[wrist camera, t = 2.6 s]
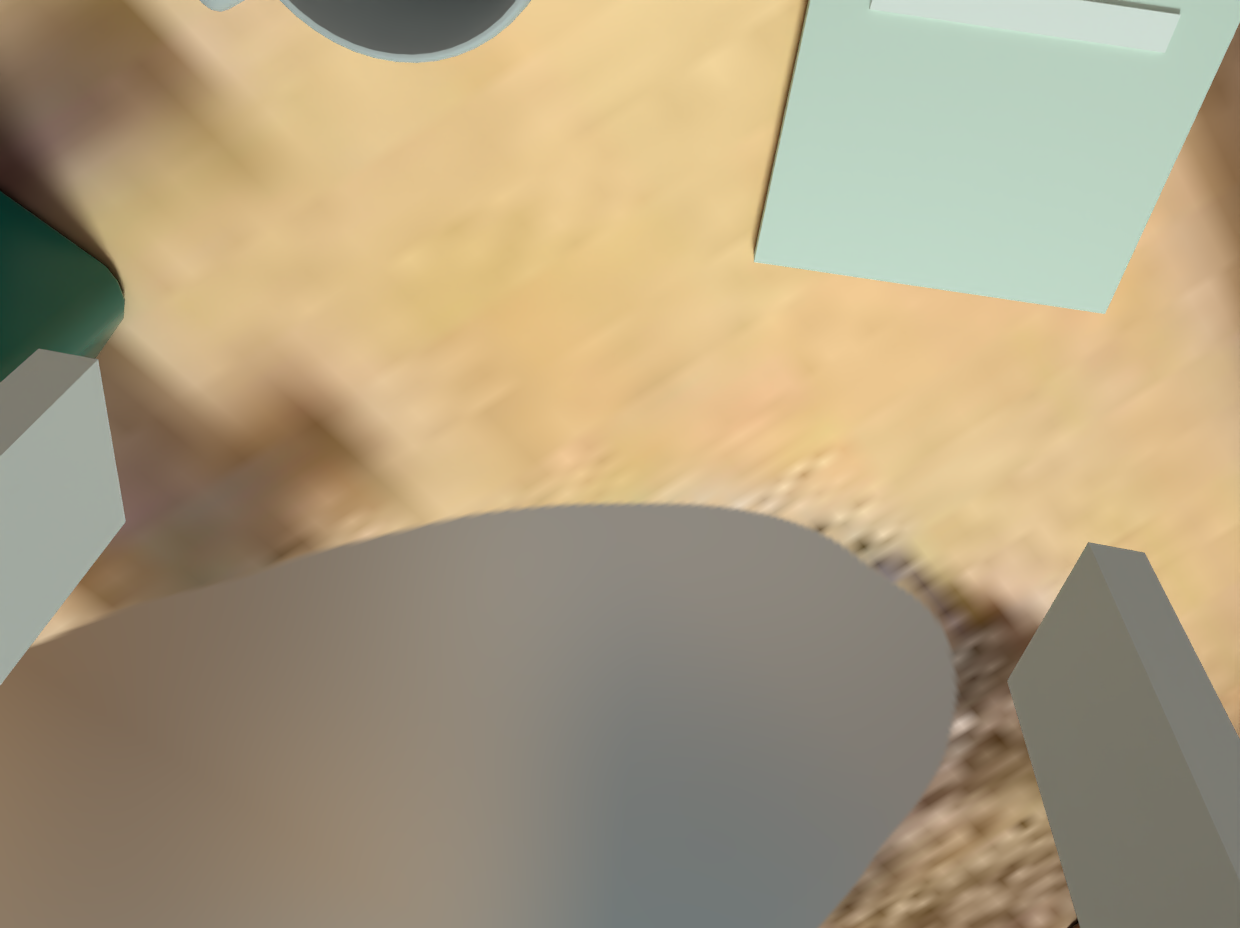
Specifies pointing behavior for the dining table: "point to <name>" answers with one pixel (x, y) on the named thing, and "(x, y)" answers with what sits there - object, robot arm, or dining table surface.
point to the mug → (402, 24)
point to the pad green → (986, 140)
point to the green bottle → (50, 292)
